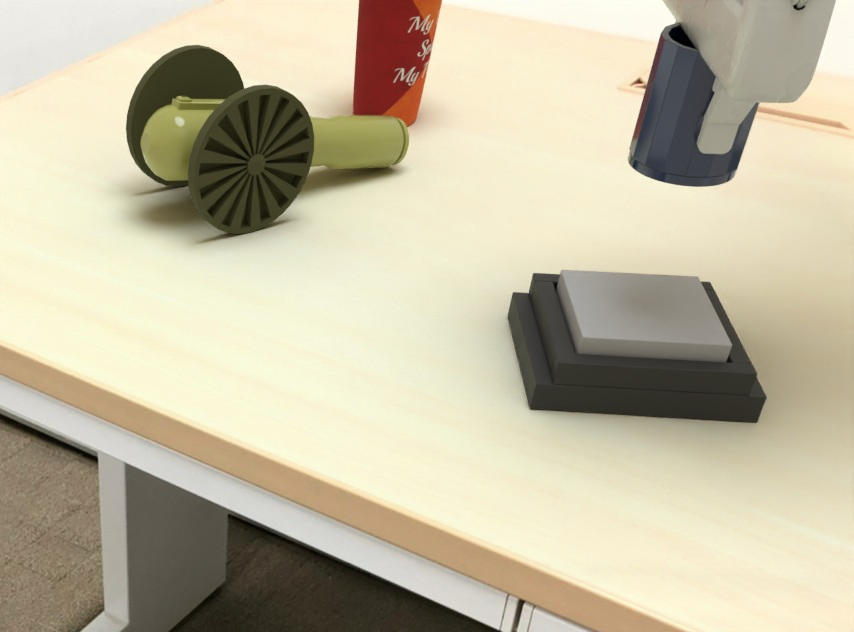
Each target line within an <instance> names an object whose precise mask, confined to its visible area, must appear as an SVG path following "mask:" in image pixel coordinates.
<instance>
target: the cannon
mask: <svg viewBox="0 0 854 632" xmlns="http://www.w3.org/2000/svg"><path fill="white" fill-rule="evenodd" d="M125 123H126V124H125V134H126V143H127V147H128V151H129V154H130V155H131V157H132V159H133V162H134V163H135V165H136V166H137V167H138V168H139V169H140V171H141V172H142V173H143V174H144V175H146V176H147V177H148V178H150V179H151V180H153V181H154V182H156V183H158V184H160V185H163V186H166V187H174V188H179V187H187V186H188V190H189V195H190V199H191V201H192V204H193V206H194V208H195V210H196V211H197V212H198V214H199V215H200V216H201V217H202V219H203V220H204V221H206V222H207V223H208V224H210V225H211V226H213V227H214V228H215V229H217V230H219V231H222V232H225V233H227V234H234V235H241V234H248V233H253V232H255V231H258V230H261V229H263V228H264V227H267V226H268V225H270V224H271V223H273V222H274V221H276V220H277V219H278V218H279V217H281V216H282V215H283V214H284V213H285V212H286V211H287V209H289V207H291V205H292V204H293V203H294V201H295V200H296V198H297V197H298V195H299V194H300V193H301V191H302V189H303V187H304V185H305V182H306V181H307V179H308V176H309V173H310V170H311V168H315V167H316V168H317V167H326V168H328V169H333V170H334V169H335V170H336V169H337V170H339V169H342V170H343V169H386V168H389V167H393V166H397V165H398V164H400V163H402V161H403V160H404V159H405V157H406V155H407V152H408V150H409V145H410V133H409V129H408V126H406V124H405V123H404V122H403V120H401V119H400V118H397V117H393V116H390V115H353V114H332V115H330V116H326V117H319V116H318V117H317V116H310V114H309V111H308V110H307V108H306V107H305V105H304V104H303V102H302V101H300V100H299V98H298V97H296V96H295V94H292V93H290V91H287V90H285V89H283V88H281V87H279V86H276V85H270V84H256V85H251V86H248V87H245V85H244V81H243V79H242V77H241V74H240V72H239V70H238V68H237V67H236V66H235V64H234V63H233V61H232V60H230V59H229V58H228V57H227V56H226V55H224V54H223V53H222V52H221V51H217V50H216V49H214V48H211V47H210V46H207V45H206V46H205V45H200V44H194V45H193V44H191V45H190V44H189V45H184V46H180V47H177V48H174V49H172V50H171V51H169V52H167V53H165V54H163V55H162V56H161V57H160V58H158V59H157V60H156V61H155V62H154V63H152V65H151V66H150V67H149V68H148V69H147V70H146V71H145V72H144V74H143V76H142V77H141V79H140V80H139V82H138V83H137V85H136V86H135V89H134V91H133V94H132V96H131V98H130V101H129V105H128V108H127V113H126V122H125Z"/></svg>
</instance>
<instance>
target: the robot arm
mask: <svg viewBox="0 0 854 632" xmlns="http://www.w3.org/2000/svg"><path fill="white" fill-rule="evenodd" d="M662 2H663V3H664V6H666V8H667V9H668V11H669V12H670V13H671V15H672V16H673V18H674V19H675V22H674V24H675V23H678V22H679V23H680V25H681V28H682V29H683V31H684V32H685V33H686V35H687V36H688V38H689V39H690V41H691V42H692V43H693V45H694V46H695V48H696V49H697V50H699V52H700V55H701V56H702V58H703V59H704V61H705V62H706V64H707V65H708V66H709V68H710V69H711V71H712V72H713V74H714V75H715V76H716V77H715V81H714V84H713V87H712V90H713V91H714V92H715V93H714V95H713V98H712V100H711V102H710V104H709V106H708V109H707V111H706V113H700V116H699V119H698V122H697V128H696V130H695V132H694V136H693V138H694V141H695V143H696V145H697V147H698V149H699V151H701V152H702V153H705V154H725V153H727V152H728V151H729V150H730V149H731V148H732V145H733V142H734V139H735V136H736V133H737V130H738V127H739V124H741V123H742V121H743V120H744V118H745V117H746V116H747V114H748V113H749V112H750V110H751V109H752V108H753V106H754V105H755V104H756V102H759V103H760V104H791V103H795V102H797V101H798V100H799V99H800V98H801V96H802V95H803V94H804V93H805V92H806V90H807V89H808V87H809V86H810V84H811V82H812V80H813V77H814V75H815V72H816V69H817V67H818V63H819V60H820V57H821V53H822V49H823V46H824V43H825V40H826V37H827V33H828V30H829V27H830V23H831V19H832V16H833V12H834V9H835V5H836V2H837V0H662Z"/></svg>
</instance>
